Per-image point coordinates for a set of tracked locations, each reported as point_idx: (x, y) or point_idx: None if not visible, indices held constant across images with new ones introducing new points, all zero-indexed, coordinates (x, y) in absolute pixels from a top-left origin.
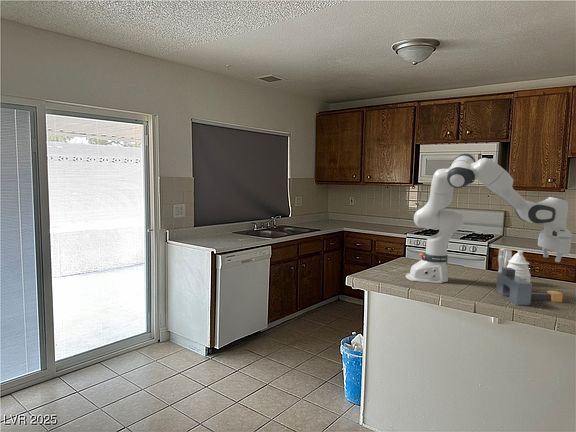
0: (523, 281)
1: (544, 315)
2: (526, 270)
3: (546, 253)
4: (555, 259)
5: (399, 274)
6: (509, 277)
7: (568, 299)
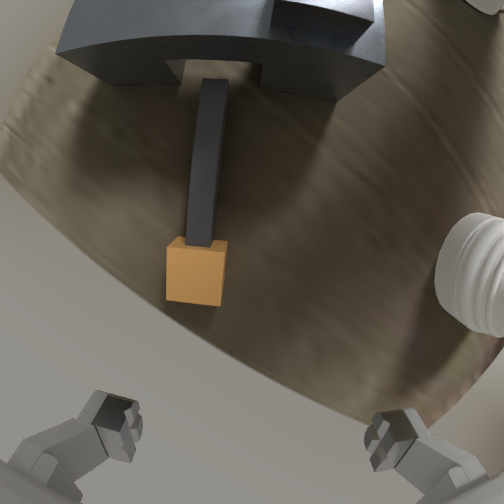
0: (109, 19)
1: (24, 96)
2: (485, 310)
3: (404, 460)
4: (110, 410)
5: None
6: None
7: (222, 340)
